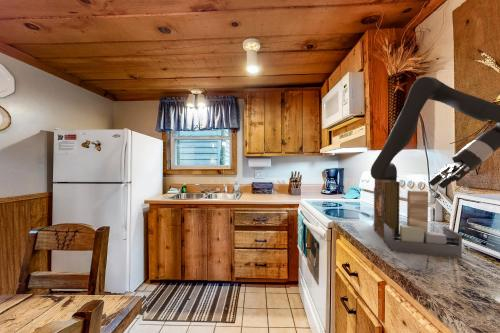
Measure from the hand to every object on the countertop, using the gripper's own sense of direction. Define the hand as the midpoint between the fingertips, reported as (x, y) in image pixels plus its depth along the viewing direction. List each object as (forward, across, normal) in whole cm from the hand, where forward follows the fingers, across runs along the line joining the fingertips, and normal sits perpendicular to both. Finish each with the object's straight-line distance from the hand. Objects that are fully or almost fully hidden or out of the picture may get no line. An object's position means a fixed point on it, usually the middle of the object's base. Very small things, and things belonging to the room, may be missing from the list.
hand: (435, 185), depth 93 cm
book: (+27, -14, +8) cm, 31 cm away
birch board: (+21, 0, +13) cm, 25 cm away
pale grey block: (+18, +5, +16) cm, 25 cm away
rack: (+21, +3, +13) cm, 25 cm away
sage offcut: (+24, +5, +11) cm, 27 cm away
